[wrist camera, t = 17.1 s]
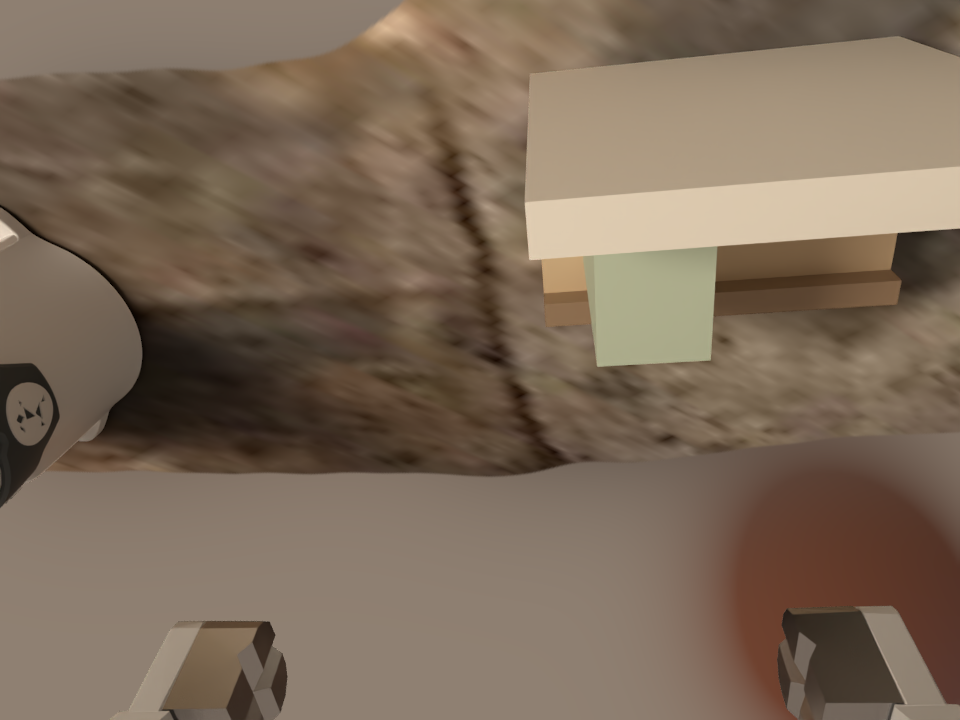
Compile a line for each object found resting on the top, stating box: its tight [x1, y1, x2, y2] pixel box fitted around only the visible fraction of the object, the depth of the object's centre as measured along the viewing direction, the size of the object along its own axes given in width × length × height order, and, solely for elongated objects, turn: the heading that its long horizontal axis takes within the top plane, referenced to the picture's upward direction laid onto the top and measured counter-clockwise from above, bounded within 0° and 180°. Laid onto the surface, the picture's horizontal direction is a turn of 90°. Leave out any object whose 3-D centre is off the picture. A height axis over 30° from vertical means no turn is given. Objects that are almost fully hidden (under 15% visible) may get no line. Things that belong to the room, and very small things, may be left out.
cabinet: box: [583, 246, 717, 367], centre depth 37 cm, size 5×8×12 cm, turn 6°
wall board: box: [525, 36, 960, 327], centre depth 35 cm, size 20×14×22 cm
